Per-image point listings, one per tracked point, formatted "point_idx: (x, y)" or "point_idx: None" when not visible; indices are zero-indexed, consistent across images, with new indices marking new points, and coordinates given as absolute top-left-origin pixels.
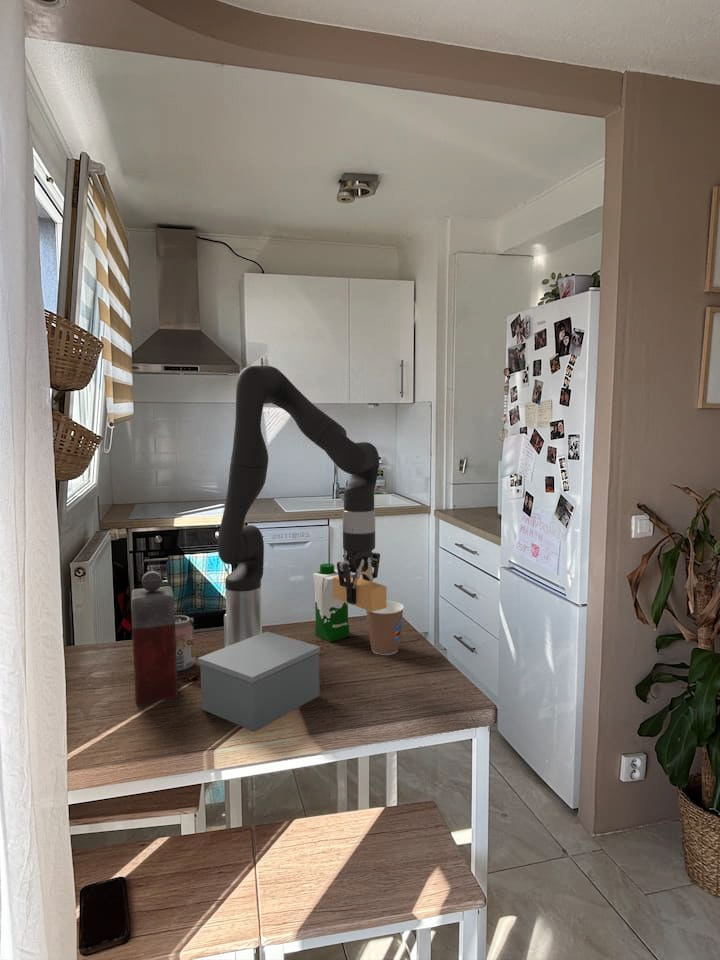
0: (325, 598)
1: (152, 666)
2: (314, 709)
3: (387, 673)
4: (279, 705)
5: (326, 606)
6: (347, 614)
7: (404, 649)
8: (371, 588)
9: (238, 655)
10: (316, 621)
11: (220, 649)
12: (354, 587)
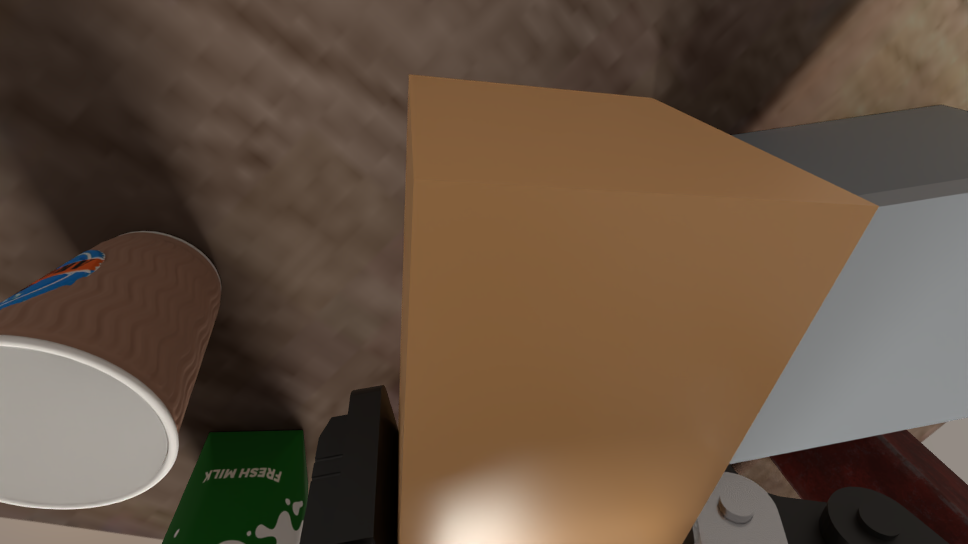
0: None
1: (930, 462)
2: (740, 78)
3: (309, 103)
4: (870, 131)
5: None
6: (191, 509)
7: (64, 234)
8: (771, 285)
9: (963, 356)
10: None
11: (921, 425)
12: (728, 488)
